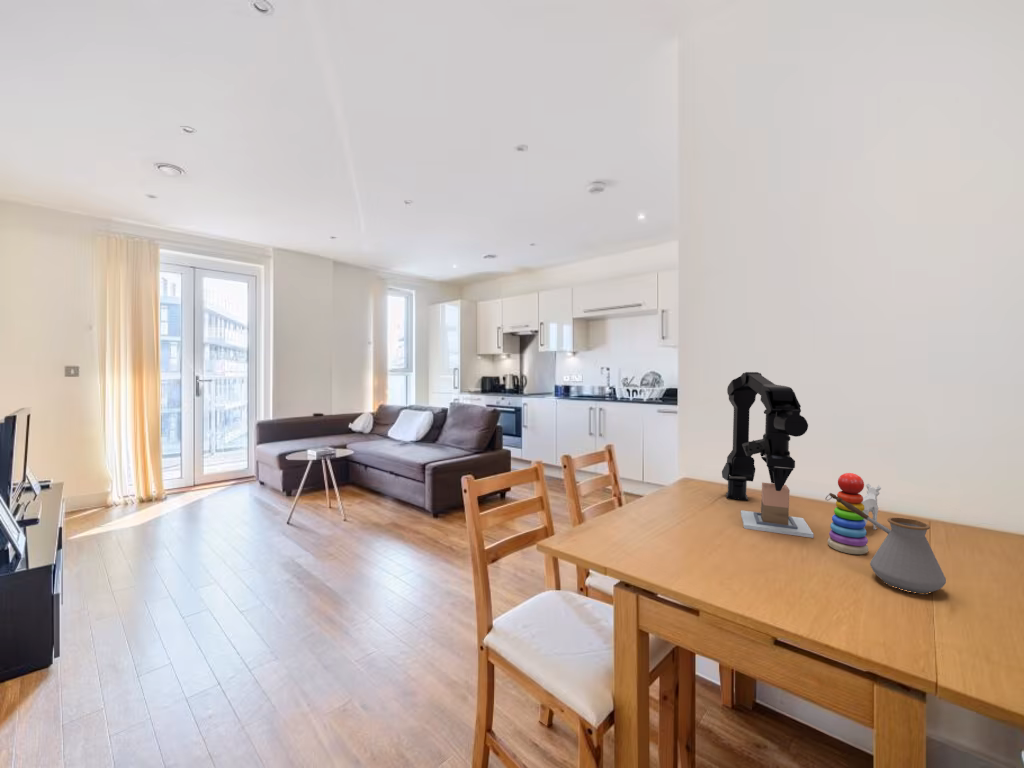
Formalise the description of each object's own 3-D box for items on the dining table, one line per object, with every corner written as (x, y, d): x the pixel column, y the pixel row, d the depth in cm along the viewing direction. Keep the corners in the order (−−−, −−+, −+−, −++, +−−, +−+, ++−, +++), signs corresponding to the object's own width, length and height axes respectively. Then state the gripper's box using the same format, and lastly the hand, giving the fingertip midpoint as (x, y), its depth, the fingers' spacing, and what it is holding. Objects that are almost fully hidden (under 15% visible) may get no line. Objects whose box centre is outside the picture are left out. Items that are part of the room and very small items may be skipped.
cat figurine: (884, 526, 124) (885, 476, 123) (855, 541, 113) (857, 486, 112) (864, 521, 127) (866, 473, 127) (835, 535, 116) (837, 482, 116)
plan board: (740, 513, 134) (740, 508, 133) (802, 521, 127) (803, 515, 127) (744, 528, 121) (744, 522, 121) (813, 537, 114) (813, 531, 114)
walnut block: (760, 516, 128) (761, 499, 128) (784, 519, 125) (785, 502, 125) (763, 522, 122) (763, 505, 122) (788, 526, 120) (788, 508, 120)
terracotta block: (761, 499, 128) (761, 482, 128) (785, 502, 125) (786, 484, 125) (763, 505, 122) (764, 487, 122) (789, 508, 120) (789, 489, 120)
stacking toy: (820, 545, 109) (822, 470, 109) (839, 540, 112) (841, 468, 112) (856, 558, 102) (859, 478, 101) (875, 552, 105) (878, 474, 105)
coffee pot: (958, 593, 86) (961, 517, 86) (926, 604, 82) (929, 524, 81) (840, 551, 106) (842, 489, 105) (809, 559, 101) (811, 494, 101)
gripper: (742, 426, 135) (741, 476, 135) (747, 433, 118) (745, 491, 118) (784, 428, 130) (783, 480, 131) (796, 436, 113) (794, 496, 114)
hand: (775, 486), depth 123 cm, fingers open, 9 cm apart
